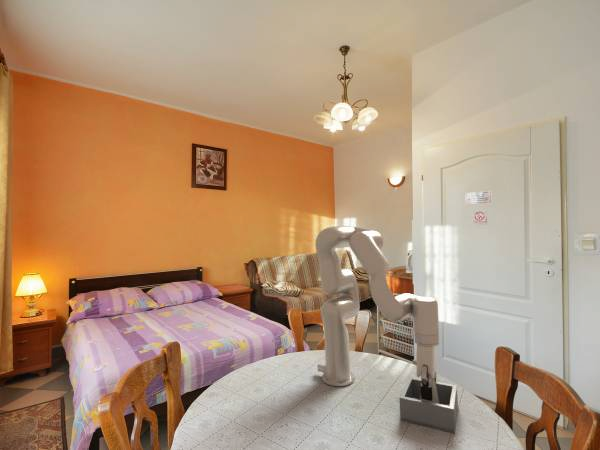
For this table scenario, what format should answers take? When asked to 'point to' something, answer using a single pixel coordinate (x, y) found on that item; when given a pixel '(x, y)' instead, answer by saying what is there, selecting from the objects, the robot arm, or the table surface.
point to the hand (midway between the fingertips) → (429, 392)
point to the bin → (429, 406)
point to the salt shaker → (433, 390)
